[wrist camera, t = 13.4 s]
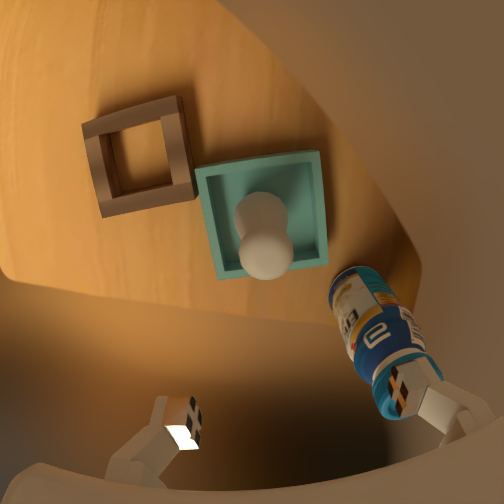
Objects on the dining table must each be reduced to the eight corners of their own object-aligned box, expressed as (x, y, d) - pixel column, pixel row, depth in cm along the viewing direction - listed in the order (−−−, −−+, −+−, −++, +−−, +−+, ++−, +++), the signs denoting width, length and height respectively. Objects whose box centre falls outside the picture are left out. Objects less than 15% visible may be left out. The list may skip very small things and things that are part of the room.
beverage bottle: (383, 306, 41) (444, 407, 23) (330, 322, 42) (370, 436, 24) (380, 256, 38) (460, 352, 20) (321, 272, 39) (371, 386, 21)
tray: (199, 165, 33) (194, 169, 30) (312, 148, 33) (319, 151, 30) (220, 267, 39) (217, 280, 35) (322, 252, 38) (328, 264, 35)
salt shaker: (224, 206, 34) (212, 250, 22) (266, 177, 33) (276, 206, 21) (254, 244, 36) (257, 305, 24) (294, 218, 35) (318, 267, 23)
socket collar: (93, 123, 31) (81, 124, 28) (181, 97, 30) (175, 94, 27) (112, 211, 35) (102, 218, 33) (199, 193, 35) (194, 199, 32)
